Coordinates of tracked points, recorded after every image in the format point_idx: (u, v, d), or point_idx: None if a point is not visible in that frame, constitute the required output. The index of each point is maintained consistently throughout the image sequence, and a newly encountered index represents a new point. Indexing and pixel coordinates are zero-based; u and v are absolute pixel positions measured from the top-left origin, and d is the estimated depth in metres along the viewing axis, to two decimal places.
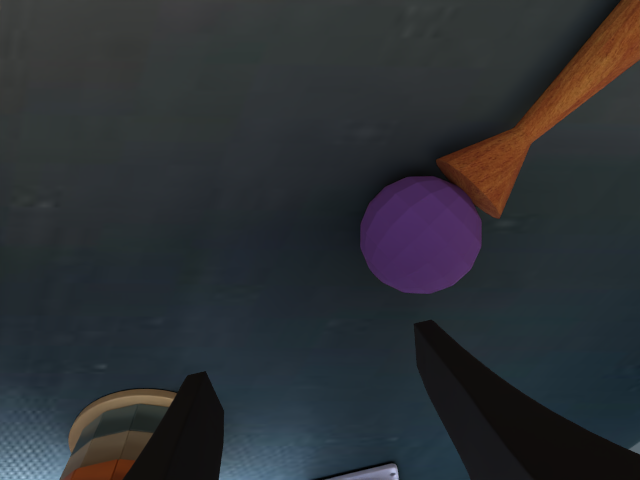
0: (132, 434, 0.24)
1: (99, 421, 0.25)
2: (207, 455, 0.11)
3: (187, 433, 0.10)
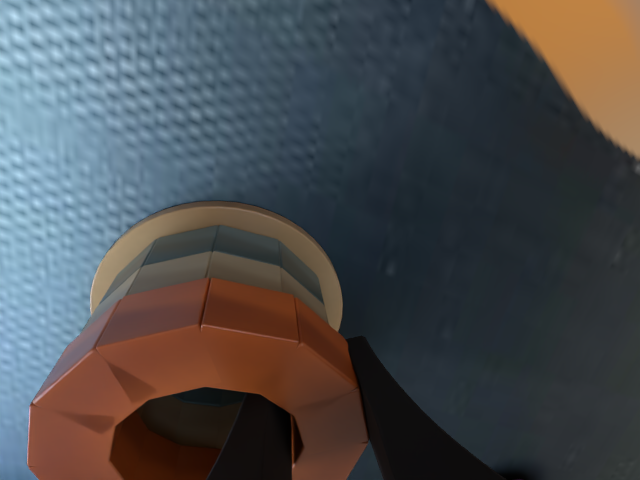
0: None
1: (317, 283, 0.15)
2: (283, 437, 0.11)
3: (271, 413, 0.10)
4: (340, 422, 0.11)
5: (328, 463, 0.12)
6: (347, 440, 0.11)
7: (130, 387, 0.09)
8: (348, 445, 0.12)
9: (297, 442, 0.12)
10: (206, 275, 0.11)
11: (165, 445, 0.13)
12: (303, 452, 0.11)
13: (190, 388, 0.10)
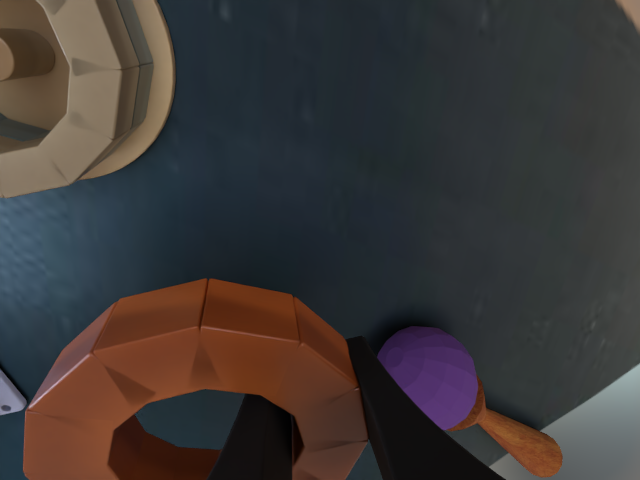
0: (136, 73, 0.13)
1: None
2: (284, 437, 0.11)
3: (271, 413, 0.10)
4: (341, 420, 0.11)
5: (328, 462, 0.12)
6: (347, 439, 0.11)
7: (129, 391, 0.09)
8: (348, 443, 0.12)
9: (297, 442, 0.12)
10: None
11: (163, 448, 0.13)
12: (303, 452, 0.11)
13: (189, 390, 0.09)
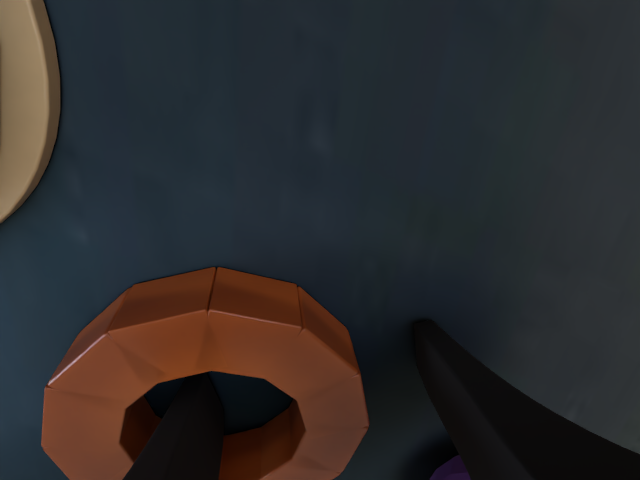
0: None
1: None
2: (207, 455, 0.11)
3: (187, 433, 0.10)
4: (342, 406, 0.11)
5: (330, 448, 0.12)
6: (348, 425, 0.12)
7: (140, 370, 0.10)
8: (349, 430, 0.12)
9: (300, 427, 0.12)
10: None
11: None
12: (306, 436, 0.12)
13: (197, 372, 0.10)
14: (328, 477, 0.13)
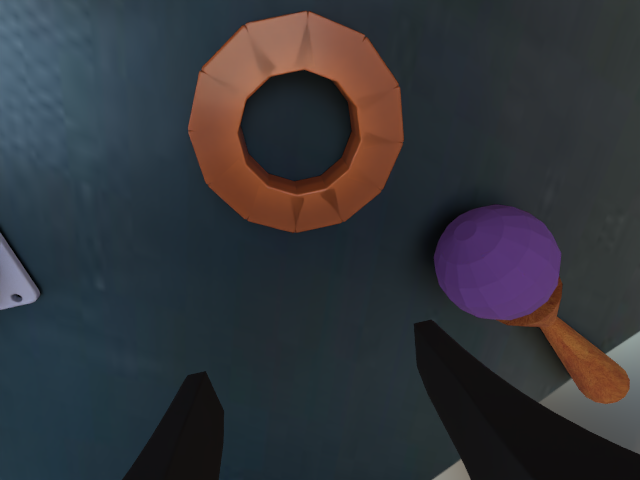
0: None
1: None
2: (207, 455, 0.11)
3: (187, 433, 0.10)
4: (386, 117, 0.17)
5: (375, 160, 0.17)
6: (389, 138, 0.17)
7: (260, 62, 0.15)
8: (389, 143, 0.17)
9: (354, 146, 0.18)
10: None
11: (259, 166, 0.19)
12: (360, 145, 0.17)
13: (295, 69, 0.15)
14: (372, 194, 0.18)
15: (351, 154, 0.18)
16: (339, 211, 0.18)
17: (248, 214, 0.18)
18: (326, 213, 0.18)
